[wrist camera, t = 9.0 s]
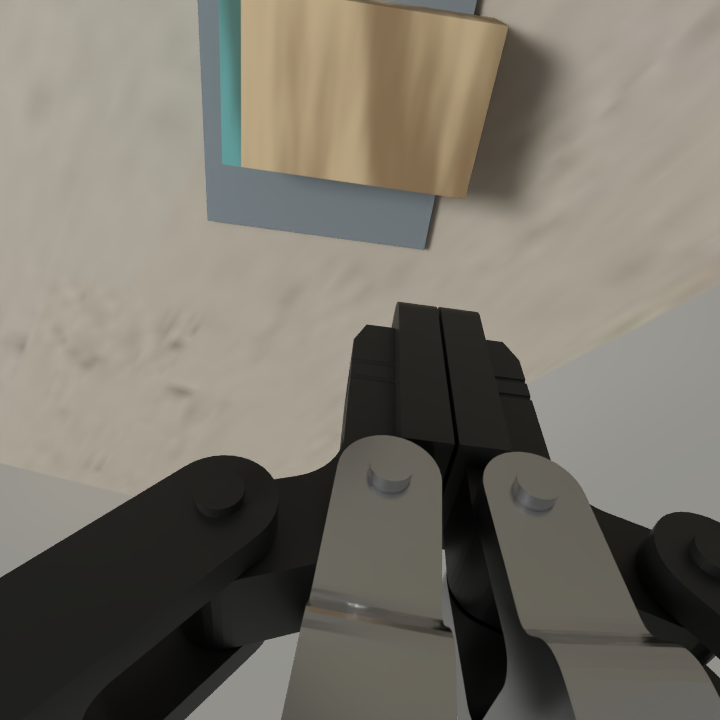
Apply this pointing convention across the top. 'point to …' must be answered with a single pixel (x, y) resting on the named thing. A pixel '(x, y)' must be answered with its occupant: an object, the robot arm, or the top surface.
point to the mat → (302, 193)
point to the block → (357, 90)
